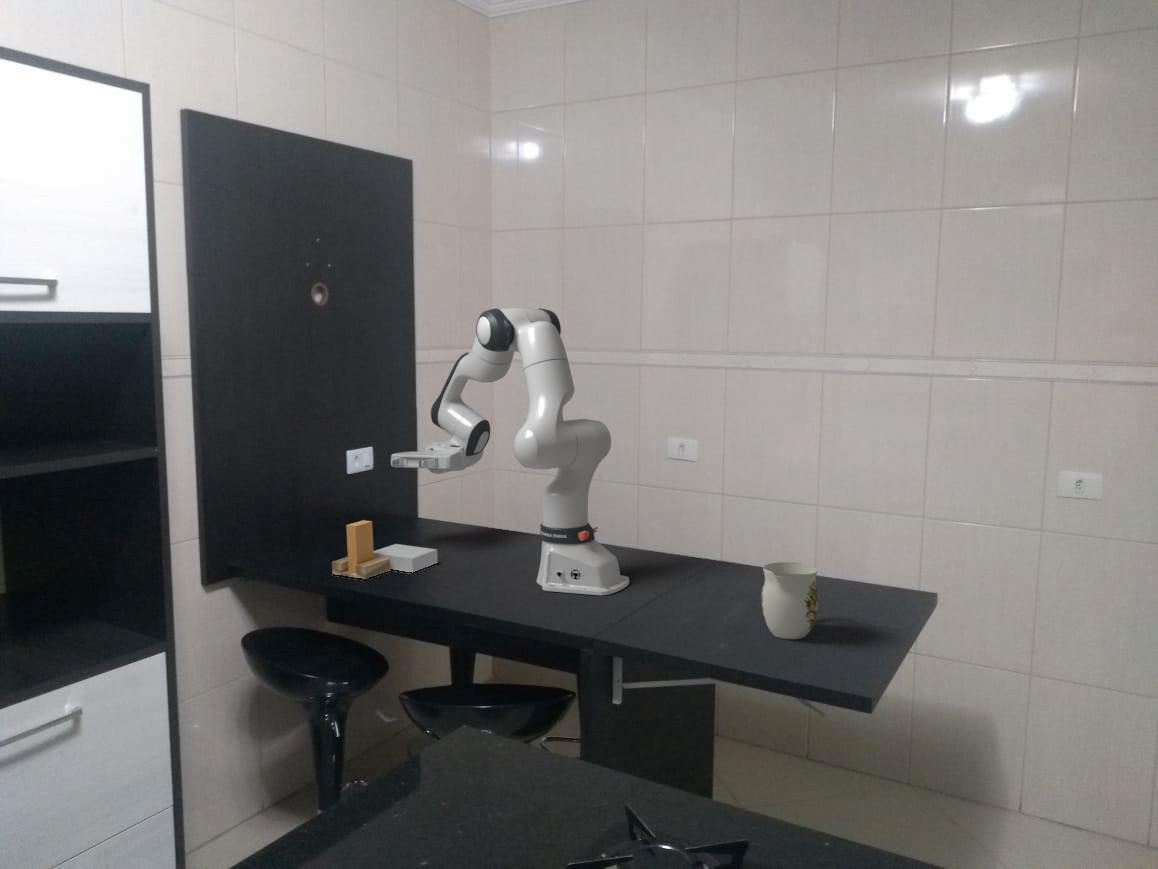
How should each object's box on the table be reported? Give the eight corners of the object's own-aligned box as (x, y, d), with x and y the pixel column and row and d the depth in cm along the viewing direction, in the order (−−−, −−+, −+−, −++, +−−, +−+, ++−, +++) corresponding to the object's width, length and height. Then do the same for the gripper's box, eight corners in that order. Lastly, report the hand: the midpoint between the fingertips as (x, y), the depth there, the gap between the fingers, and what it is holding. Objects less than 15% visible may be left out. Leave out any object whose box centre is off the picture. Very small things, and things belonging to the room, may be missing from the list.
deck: (437, 564, 229) (437, 549, 228) (412, 573, 220) (412, 558, 220) (396, 558, 236) (395, 543, 235) (370, 567, 227) (370, 552, 226)
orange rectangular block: (374, 567, 223) (372, 521, 221) (357, 573, 218) (355, 526, 216) (365, 566, 224) (363, 520, 223) (348, 571, 219) (346, 525, 218)
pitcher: (828, 622, 179) (829, 556, 177) (807, 651, 163) (808, 579, 162) (775, 615, 184) (776, 551, 182) (749, 642, 168) (750, 572, 167)
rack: (390, 571, 222) (389, 558, 222) (365, 580, 215) (364, 566, 214) (357, 566, 228) (357, 553, 227) (332, 575, 220) (331, 561, 220)
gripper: (409, 445, 246) (376, 451, 234) (468, 446, 236) (436, 452, 224) (411, 467, 247) (377, 474, 235) (469, 470, 237) (437, 477, 225)
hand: (406, 463), depth 229 cm, fingers open, 8 cm apart
